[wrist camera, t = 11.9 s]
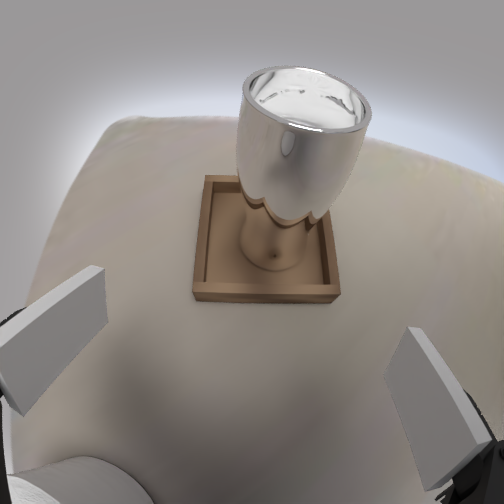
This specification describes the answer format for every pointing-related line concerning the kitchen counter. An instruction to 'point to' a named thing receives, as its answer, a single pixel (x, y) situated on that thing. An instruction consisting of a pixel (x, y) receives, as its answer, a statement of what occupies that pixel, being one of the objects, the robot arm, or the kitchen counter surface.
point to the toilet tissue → (76, 484)
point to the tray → (244, 271)
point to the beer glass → (293, 157)
